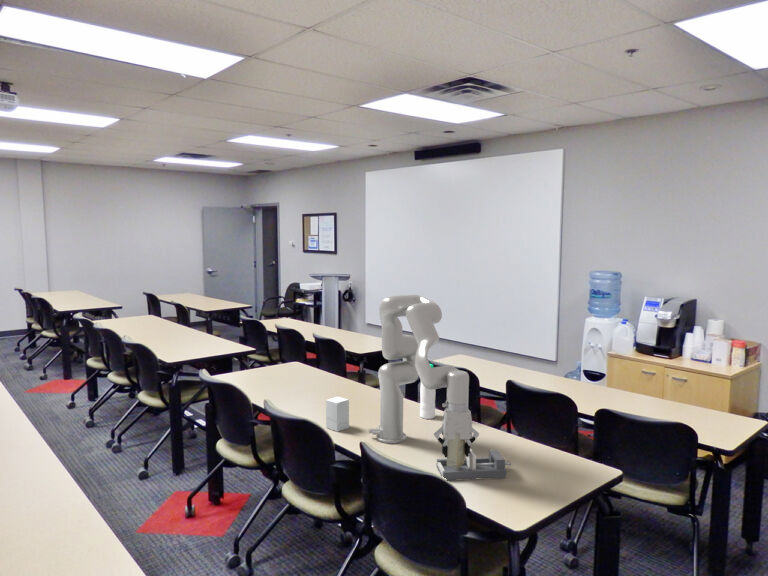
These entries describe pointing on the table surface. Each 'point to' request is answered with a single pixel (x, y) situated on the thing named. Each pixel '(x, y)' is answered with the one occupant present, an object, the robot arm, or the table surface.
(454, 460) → the skincare box
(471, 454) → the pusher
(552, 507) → the table surface
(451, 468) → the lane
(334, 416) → the supplement box
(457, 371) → the robot arm
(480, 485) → the table surface
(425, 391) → the water bottle
